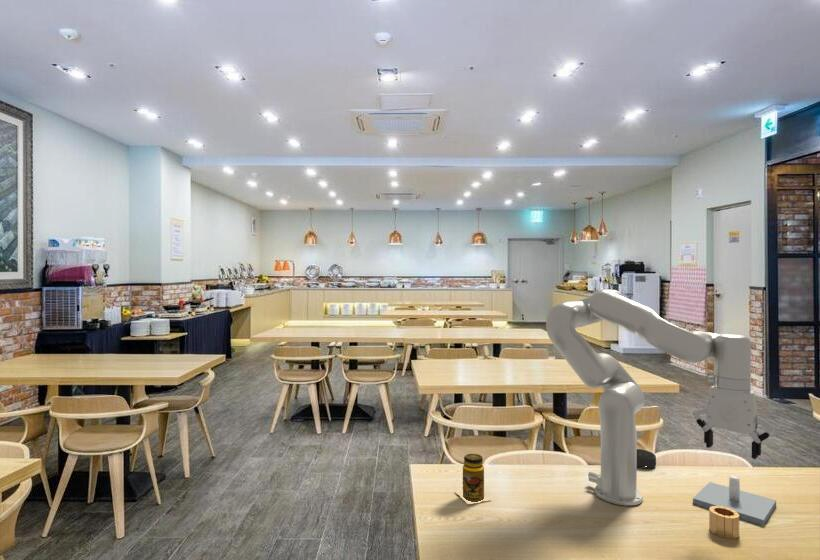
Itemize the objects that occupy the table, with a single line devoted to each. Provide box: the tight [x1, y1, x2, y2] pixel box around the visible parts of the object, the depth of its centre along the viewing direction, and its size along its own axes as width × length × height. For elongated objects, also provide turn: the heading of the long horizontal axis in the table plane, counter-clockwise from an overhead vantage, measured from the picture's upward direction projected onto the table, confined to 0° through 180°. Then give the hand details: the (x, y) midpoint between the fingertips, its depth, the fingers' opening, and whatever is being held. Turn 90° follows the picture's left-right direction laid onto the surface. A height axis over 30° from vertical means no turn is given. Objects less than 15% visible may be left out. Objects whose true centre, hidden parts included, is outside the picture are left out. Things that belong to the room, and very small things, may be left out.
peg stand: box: [692, 475, 777, 527], centre depth 128 cm, size 16×16×8 cm
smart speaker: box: [637, 448, 657, 469], centre depth 157 cm, size 9×9×4 cm
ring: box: [708, 506, 740, 540], centre depth 114 cm, size 6×6×5 cm
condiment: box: [462, 453, 485, 502], centre depth 132 cm, size 7×8×12 cm
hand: (731, 451), depth 116 cm, fingers open, 9 cm apart
